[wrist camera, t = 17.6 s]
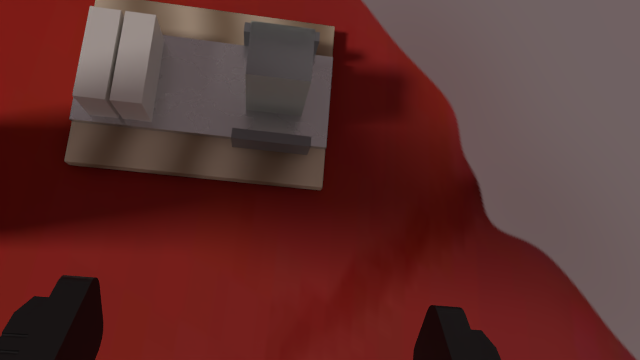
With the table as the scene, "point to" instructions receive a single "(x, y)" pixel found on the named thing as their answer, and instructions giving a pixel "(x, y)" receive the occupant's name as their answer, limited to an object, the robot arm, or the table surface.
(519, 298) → the table surface
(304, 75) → the block
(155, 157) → the din rail mount
